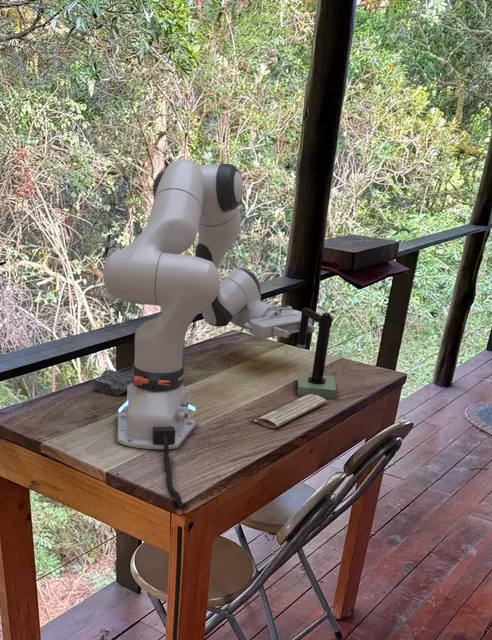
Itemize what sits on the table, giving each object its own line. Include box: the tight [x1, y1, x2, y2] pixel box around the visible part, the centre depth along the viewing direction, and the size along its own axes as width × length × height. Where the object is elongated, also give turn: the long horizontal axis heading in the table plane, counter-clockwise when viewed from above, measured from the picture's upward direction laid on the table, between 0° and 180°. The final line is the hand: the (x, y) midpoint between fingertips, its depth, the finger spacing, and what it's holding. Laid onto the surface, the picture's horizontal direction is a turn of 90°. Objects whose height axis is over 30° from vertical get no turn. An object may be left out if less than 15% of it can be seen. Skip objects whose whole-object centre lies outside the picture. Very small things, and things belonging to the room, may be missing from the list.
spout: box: [296, 307, 334, 349], centre depth 201 cm, size 13×3×12 cm, turn 23°
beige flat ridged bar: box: [253, 394, 327, 429], centre depth 189 cm, size 24×7×2 cm, turn 140°
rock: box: [94, 369, 132, 396], centre depth 197 cm, size 8×10×4 cm
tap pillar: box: [308, 326, 331, 384], centre depth 200 cm, size 5×5×15 cm
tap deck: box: [296, 372, 337, 400], centre depth 204 cm, size 11×10×2 cm
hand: (301, 332), depth 206 cm, fingers open, 8 cm apart
